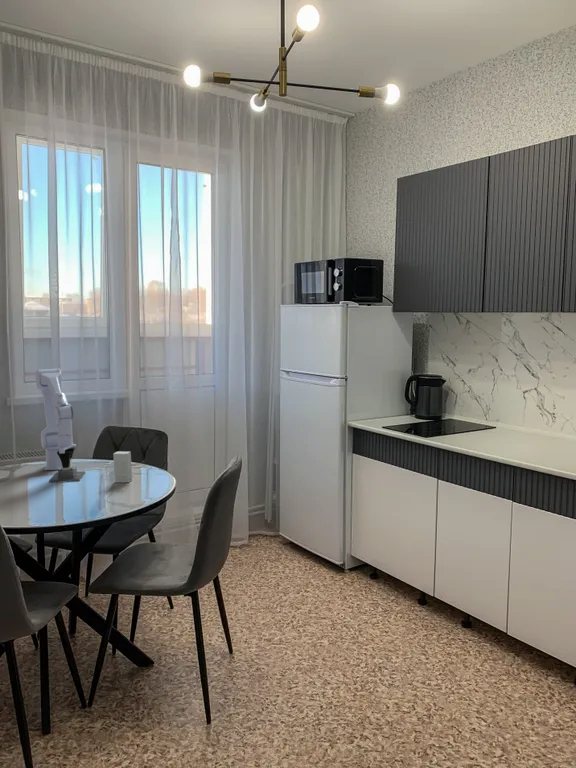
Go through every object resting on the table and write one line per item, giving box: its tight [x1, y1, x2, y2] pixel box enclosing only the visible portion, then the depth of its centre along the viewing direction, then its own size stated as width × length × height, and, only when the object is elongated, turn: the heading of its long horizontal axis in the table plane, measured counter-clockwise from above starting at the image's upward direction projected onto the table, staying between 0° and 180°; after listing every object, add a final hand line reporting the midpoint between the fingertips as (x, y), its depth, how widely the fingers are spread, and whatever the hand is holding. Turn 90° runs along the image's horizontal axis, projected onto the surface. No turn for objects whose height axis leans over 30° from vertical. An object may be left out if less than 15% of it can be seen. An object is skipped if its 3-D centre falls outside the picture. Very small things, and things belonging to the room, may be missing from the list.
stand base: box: [48, 466, 86, 483], centre depth 257 cm, size 12×12×4 cm
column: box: [61, 457, 73, 471], centre depth 257 cm, size 4×4×7 cm
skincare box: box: [112, 451, 133, 483], centre depth 251 cm, size 6×4×12 cm
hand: (67, 466), depth 257 cm, fingers closed on column, 3 cm apart
